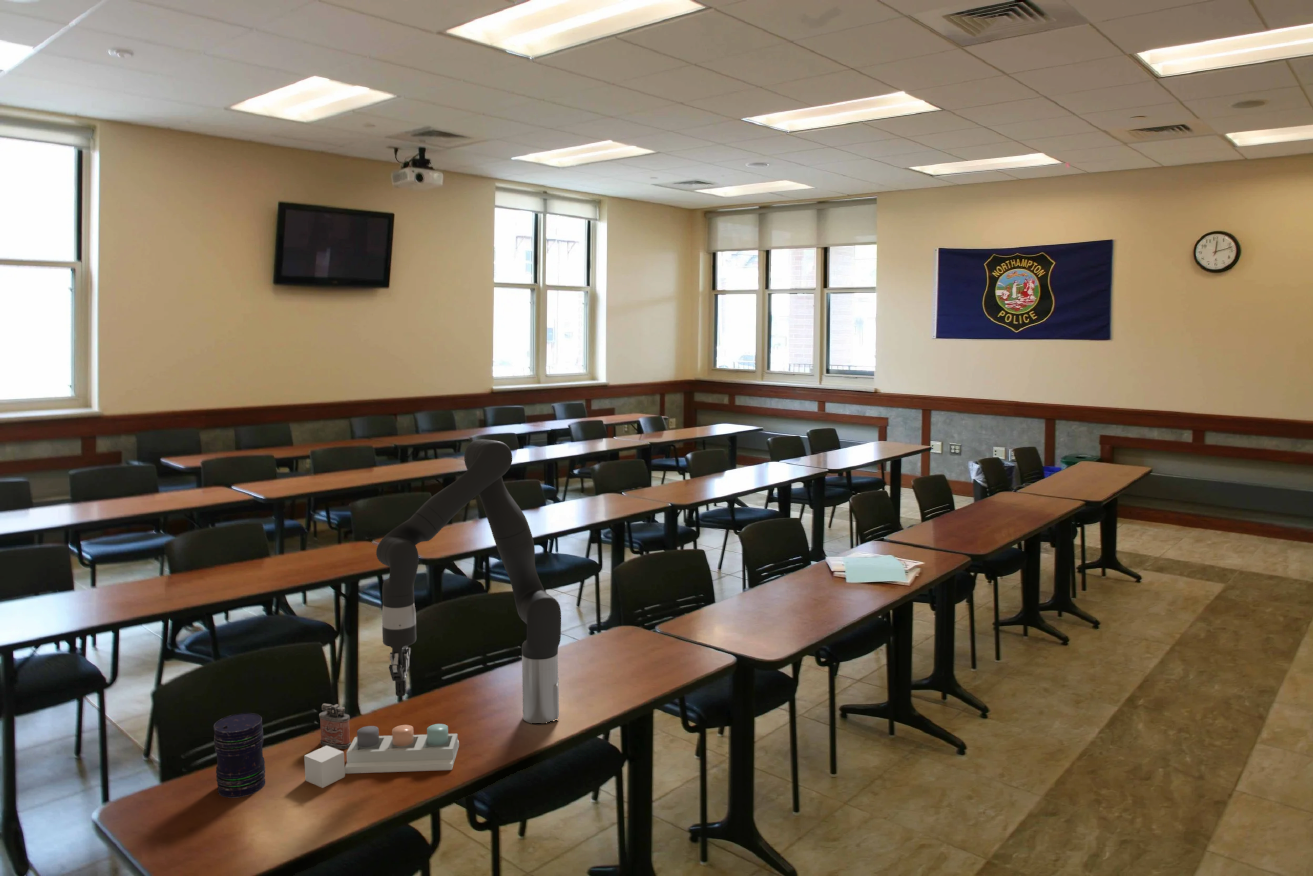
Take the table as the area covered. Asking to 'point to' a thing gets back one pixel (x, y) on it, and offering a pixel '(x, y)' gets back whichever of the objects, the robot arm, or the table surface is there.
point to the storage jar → (239, 755)
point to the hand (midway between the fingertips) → (401, 694)
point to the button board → (402, 756)
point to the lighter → (334, 727)
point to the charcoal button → (368, 736)
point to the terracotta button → (402, 735)
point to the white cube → (324, 766)
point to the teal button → (437, 734)
